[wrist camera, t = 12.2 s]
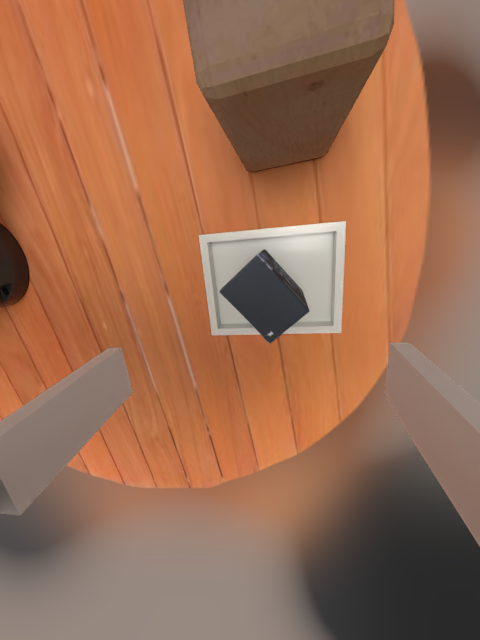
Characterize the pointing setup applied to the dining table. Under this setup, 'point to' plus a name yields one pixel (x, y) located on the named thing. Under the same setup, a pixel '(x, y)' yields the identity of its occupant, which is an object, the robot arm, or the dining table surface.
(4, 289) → the robot arm
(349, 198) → the dining table surface
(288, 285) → the box
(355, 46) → the wooden block
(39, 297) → the dining table surface
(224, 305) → the tray
